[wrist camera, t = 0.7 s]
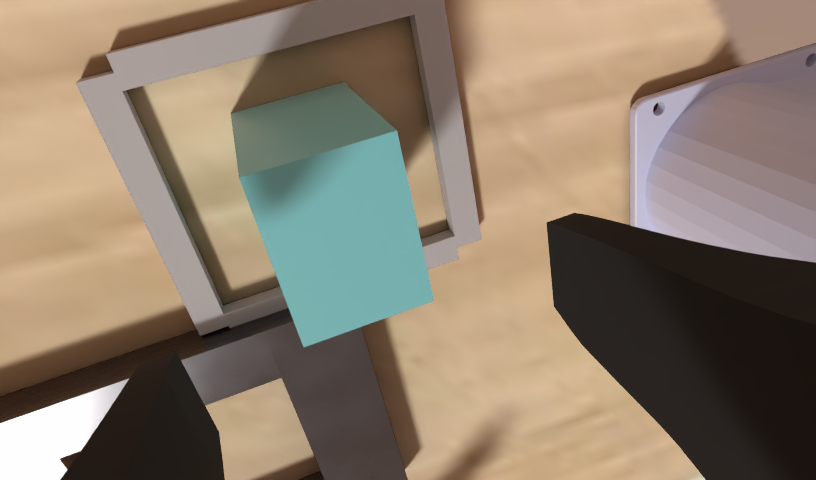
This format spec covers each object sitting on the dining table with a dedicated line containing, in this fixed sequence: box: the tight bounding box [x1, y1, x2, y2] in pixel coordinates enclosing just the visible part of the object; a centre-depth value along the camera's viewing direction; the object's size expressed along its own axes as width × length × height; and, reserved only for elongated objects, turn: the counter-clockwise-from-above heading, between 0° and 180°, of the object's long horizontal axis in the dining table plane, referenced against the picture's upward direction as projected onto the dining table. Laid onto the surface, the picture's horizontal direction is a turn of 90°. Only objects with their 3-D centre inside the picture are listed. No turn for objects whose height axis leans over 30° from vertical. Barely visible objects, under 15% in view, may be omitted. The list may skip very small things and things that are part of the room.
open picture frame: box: [76, 0, 481, 336], centre depth 18 cm, size 11×10×1 cm
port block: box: [0, 308, 408, 480], centre depth 22 cm, size 14×11×2 cm
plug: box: [231, 82, 434, 347], centre depth 16 cm, size 4×5×6 cm
